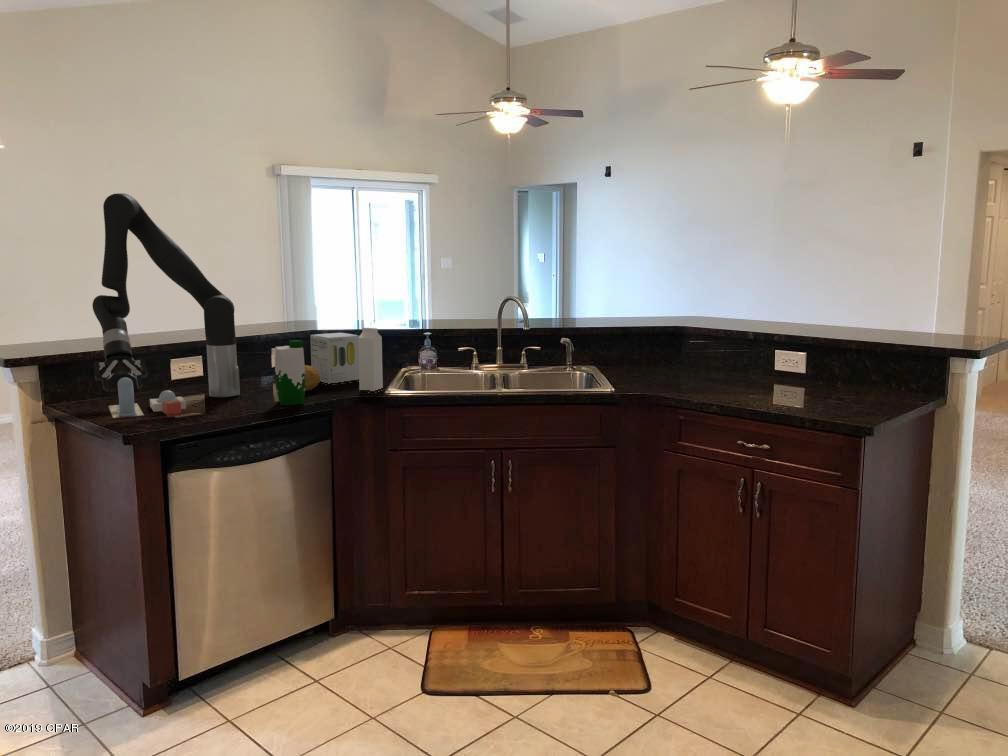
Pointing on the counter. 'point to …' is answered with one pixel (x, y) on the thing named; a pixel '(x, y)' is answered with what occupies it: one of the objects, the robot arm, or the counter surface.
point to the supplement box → (335, 357)
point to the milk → (370, 360)
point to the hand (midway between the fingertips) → (123, 388)
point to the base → (158, 406)
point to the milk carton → (290, 373)
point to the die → (171, 408)
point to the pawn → (126, 397)
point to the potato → (311, 377)
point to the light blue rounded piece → (167, 396)
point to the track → (116, 410)
